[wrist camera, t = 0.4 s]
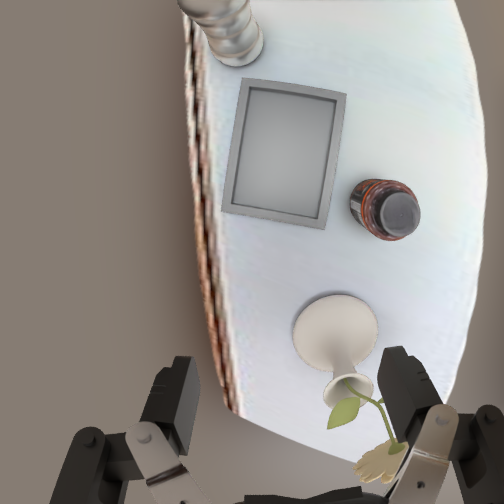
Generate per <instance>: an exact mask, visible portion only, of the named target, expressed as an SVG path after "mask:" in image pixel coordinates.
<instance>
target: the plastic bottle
mask: <svg viewBox="0 0 504 504" xmlns="http://www.w3.org/2000/svg"><path fill="white" fill-rule="evenodd" d="M177 3H178V5H179V7H180V9H181V10H182V11H183V12H184V13H185V14H186V15H187V16H189V17H190V18H191V19H192V20H194V21H195V22H196V23H197V24H198V25H199V26H200V27H201V28H202V29H203V31H204V32H205V34H206V36H207V38H208V42H209V46H210V49H211V52H212V54H213V55H214V56H215V57H216V58H217V59H218V60H219V61H221V62H222V63H224V64H226V65H229V66H243V65H246V64H248V63H250V62H252V61H253V60H255V59H256V58H257V57H258V55H259V54H260V52H261V50H262V47H263V40H264V38H263V33H262V30H261V28H260V27H259V25H258V24H257V22H256V21H255V20H254V18H253V15H252V13H251V8H250V0H177Z"/></svg>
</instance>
